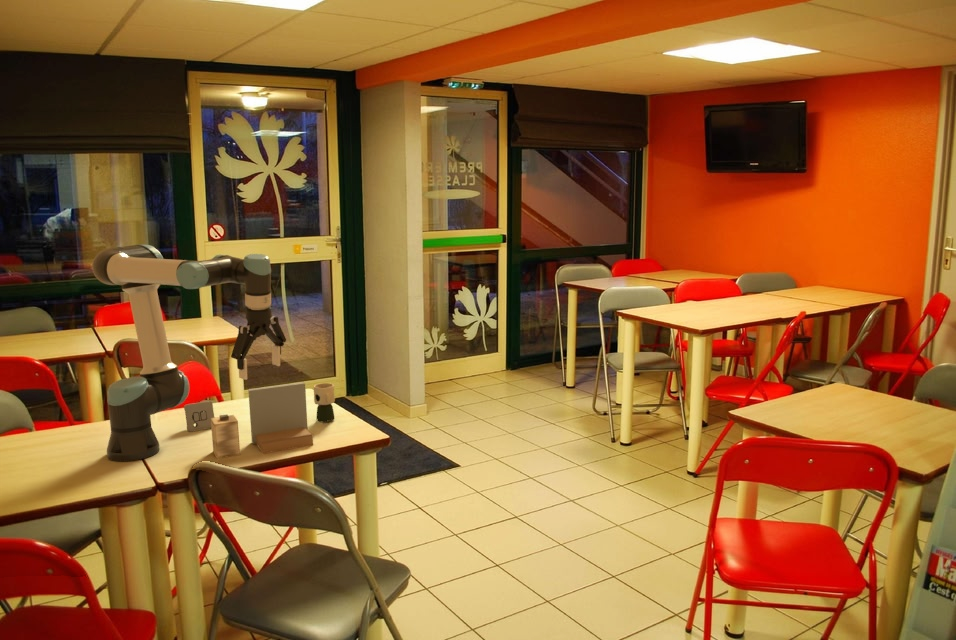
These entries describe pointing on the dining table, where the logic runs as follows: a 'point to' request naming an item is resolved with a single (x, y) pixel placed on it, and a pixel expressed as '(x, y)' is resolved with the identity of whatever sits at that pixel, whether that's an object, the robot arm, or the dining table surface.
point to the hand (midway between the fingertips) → (260, 371)
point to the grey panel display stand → (279, 417)
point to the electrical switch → (199, 415)
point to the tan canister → (225, 436)
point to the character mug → (324, 401)
